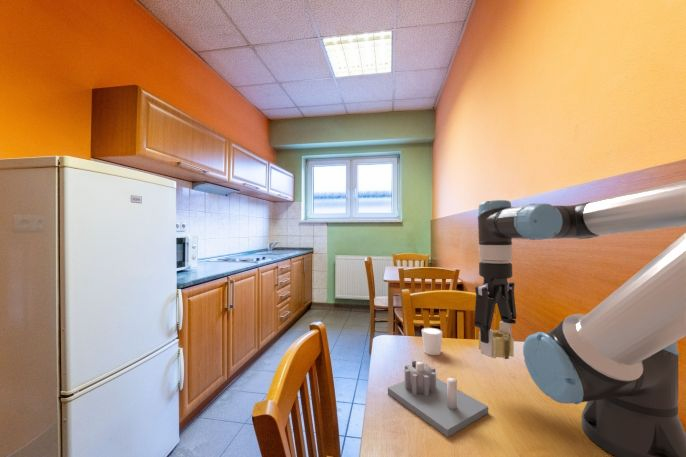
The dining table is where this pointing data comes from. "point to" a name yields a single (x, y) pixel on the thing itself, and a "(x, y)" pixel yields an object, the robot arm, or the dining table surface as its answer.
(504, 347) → the brass gear
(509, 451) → the dining table surface
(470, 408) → the gear board
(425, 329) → the beige cup
